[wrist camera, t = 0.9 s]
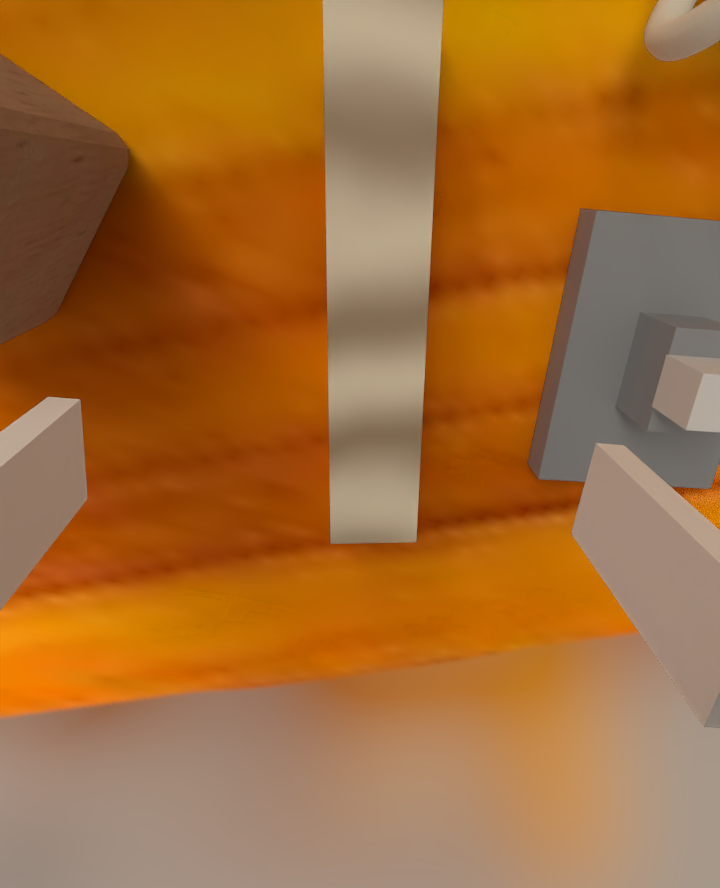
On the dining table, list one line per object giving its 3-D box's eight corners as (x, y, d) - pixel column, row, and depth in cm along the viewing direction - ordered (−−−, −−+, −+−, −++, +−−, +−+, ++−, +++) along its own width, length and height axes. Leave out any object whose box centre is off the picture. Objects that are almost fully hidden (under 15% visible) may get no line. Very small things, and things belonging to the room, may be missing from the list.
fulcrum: (580, 208, 30) (667, 217, 23) (771, 225, 31) (919, 239, 23) (527, 463, 36) (582, 542, 28) (691, 473, 36) (789, 552, 29)
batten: (323, 18, 27) (322, -15, 22) (425, 20, 27) (444, -13, 23) (330, 498, 36) (330, 543, 32) (405, 497, 37) (416, 542, 32)
